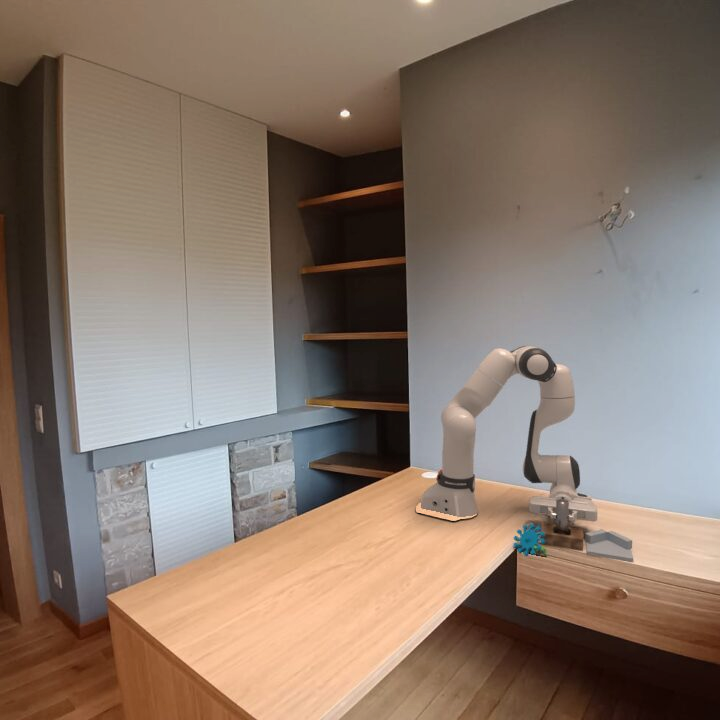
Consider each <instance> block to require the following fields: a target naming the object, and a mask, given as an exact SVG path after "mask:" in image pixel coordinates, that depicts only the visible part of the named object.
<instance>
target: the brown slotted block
mask: <svg viewBox="0 0 720 720" xmlns="http://www.w3.org/2000/svg"><path fill="white" fill-rule="evenodd" d="M540 528H541V531H543V532H544V533H545V536H544V537H542V536H541V535H540V538H541V539H542V538H543V539H544V540H545V543H544V544H542V543H541V542H540V544H541V545H544V546H552V547H555V548H556V547H558V548H563V549H564V548H565V549H569V550H574V551H575V550H576V551H582V552H583V551H584V530H583V529H584V528H582V527H581V528H580V527H574V526H568V535H563V534H557V533H556V524H555V523H554V524H553V523H546V522H541V527H540ZM541 531H540V532H541Z"/></svg>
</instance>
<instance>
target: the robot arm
mask: <svg viewBox="0 0 720 720" xmlns="http://www.w3.org/2000/svg"><path fill="white" fill-rule="evenodd" d="M516 374H519V375H520V376H522V377H524V378H526V379H529V380H533V381H537V383H538V385H539V389H540V390H539V391H540V393H539V394H540V396H539V397H540V401H539V405H538V407H537V408H536V409H535V410H534V411H532V413H531V417H530V421H529V428H528V433H527V435H528V436H527V443H526V451H525V456H524V460H523V465H522V474H523V477H524V478H526V480H527V481H528V482H530V483H531V484H542V483H545V484H551V485H550V489H549V495H548V496H549V497H548V496H540V495H536V496H533V497H531V498H529V503H528V506H529V507H528V508H529V512H530V513H531V514H537V515H543V516H544V515H545V516H549V517H550V519H551V520H556V500H558V499H563V500H567V501H568V502H569V515H568V522H574V521H575V520H580V521H587V522H593V523H594V522H598V508H597V505H596V504H595V502H594V501H593V499H592V496H590V495H587V494H583V493H580V492H577V489H578V488H579V487H580V485H581V472H580V465H579V463H578V461H577V460H576V459H575V458H574V457H573V456H572V455H563V454H556V455H555V454H553V455H549V454H548V455H547V454H540V453H539V446H540V437H541V433H542V431H543V430H544V429H547V428H548V427H550V426H553V425H556V424H558V423H559V424H560V423H561V422H564V421H566V420H567V419H568V418H570V417H571V416H572V414H573V413H574V411H575V405H576V400H575V399H576V397H575V387H574V381H573V376H572V372H571V370H570V368H569V367H568V366H566V365H564V364H562V363H561V364H559V363H556V362H555V361H554V360H553V359H552V357H551V356H550V354H549V353H548V352H547V351H546V350H544V349H542V348H540V347H538V346H535V345H522V346H519V347H517V348H515V349H513V350H511V351H509V350H507V349H504V348H500V347H499V348H495V349H493V350H492V351H491V352H490V353H488V354H487V356H486V357H484V359H483V360H481V362H480V364H479V365H478V366H477V367H476V368H475V370H474V372H472V374H471V376H470V377H469V379H468V380H467V381H466V382H465V384H464V385H463V386H462V388H461V389H460V390H459V391H458V392H457V393H456V394H455V395H454V396H453V397H452V399H451V400H450V401H448V403H447V404H446V406H445V407H443V409H442V411H441V415H440V421H441V424H442V429H443V430H442V431H443V438H442V453H441V454H442V455H441V457H442V459H441V460H442V464H441V465H442V469H440V470H439V471H438V473H437V475H436V477H435V478H436V482H435V483H434V484H432V485H431V486H429V487H427V488H426V490H425V491H424V492H423V494H422V497H421V499H420V500H419V501H420V502H421V508H422V509H426V510H431V511H436V512H440V513H444V514H449V515H453V516H457V517H466V516H473V515H475V514H477V513H478V514H479V511H478V507H477V503H476V497H475V490H476V476H475V474H474V471H475V470H474V469H475V468H474V461H475V460H474V452H475V445H476V443H475V442H476V430H477V429H476V428H477V422H476V418H477V417H478V416H479V415H480V414H481V413H482V412H483V411H484V410H485V409H486V408H487V407H488V406H491V404H492V403H493V401H494V400H495V399H496V397H497V396H498V394H499V393H500V391H501V390H502V389H503V388H504V386H505V385H506V383H507V382H508V380H509V379H511V377H512V376H514V375H516Z"/></svg>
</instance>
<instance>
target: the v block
mask: <svg viewBox="0 0 720 720" xmlns="http://www.w3.org/2000/svg"><path fill="white" fill-rule="evenodd" d="M584 535H585V536H584V542H585V544H586V545H585V546H586V547H585V548H586V555H588V556H593V557H594V556H595V557H599V558H600V557H601V558H606V559H611V560H620V561H624V562H625V561H626V562H630V563H631V562H632V563H633V562H634V555H633V551H632V549H633V539H631V538H629V537H626V536H624V535H622V534H620V533H618V532H616V531H614V530H611V531H607V530H605V529H603V528H602V529H599V530H593V531H590V532H586V533H585V534H584Z"/></svg>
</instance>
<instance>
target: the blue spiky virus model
mask: <svg viewBox="0 0 720 720" xmlns="http://www.w3.org/2000/svg"><path fill="white" fill-rule="evenodd" d="M541 528H542V527H541V526H540V525H537V526H536V525H535V524H534V523H530V524H529V526H528V525H526V524H524V525H522V529H523V530H521V529H520V528H519V529H517V530H516V533H517V534H518V535H519V536H520V537H518V535H514V536H513V540H514V541H515V542H514V543H513V547H514V548H515V549H516V551H517V552H518V553H519V554H523V555H524V556H525V557H528V556H529V553H530V555H531V556H535V555H537V552H539V553H540V554H541V555H544V556H545V557H548V553H547V548H546V547H544V546H541V545H544V543H545V540H544V539H543V538H542V539H541V536H542V537H544V536H545V533H544V532H543V531H541ZM539 536H540V537H539ZM518 542H519V543H518ZM539 542H540V543H539ZM541 543H542V544H541ZM540 544H541V545H540ZM520 547H521V548H520ZM536 551H537V552H536Z"/></svg>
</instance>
